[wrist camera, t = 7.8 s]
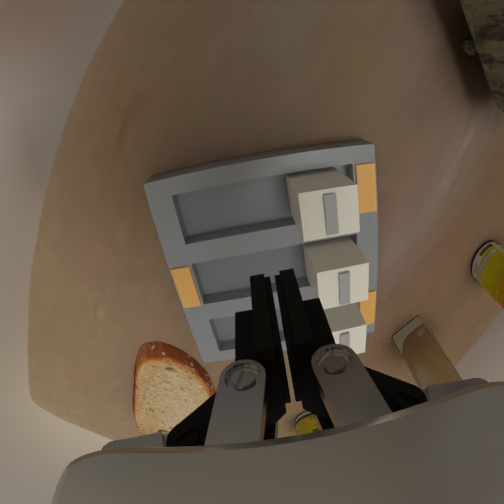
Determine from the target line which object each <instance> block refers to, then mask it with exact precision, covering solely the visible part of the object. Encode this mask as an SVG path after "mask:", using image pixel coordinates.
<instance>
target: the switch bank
mask: <svg viewBox="0 0 504 504" xmlns="http://www.w3.org/2000/svg"><path fill="white" fill-rule="evenodd" d="M329 167H334V168H336V169H337V170H338V171H340V172H341V173H343V174H344V175H345V176H347V177H348V178H349V179H351V180H352V181H353V182H355V183H356V184H357V186H358V202H359V223H360V232H356V233H351V234H345V235H340V236H334V237H328V238H323V239H317V240H312V241H306V242H304V241H303V239H302V237H301V234H300V232H299V230H298V228H297V226H296V224H295V221H294V219H293V217H292V215H291V211H290V204H289V197H288V190H287V183H286V177H285V174H290V173H296V172H302V171H309V170H315V169H322V168H329ZM143 186H144V190H145V193H146V197H147V200H148V204H149V207H150V210H151V214H152V217H153V220H154V224H155V227H156V230H157V233H158V237H159V240H160V243H161V246H162V249H163V252H164V255H165V258H166V261H167V264H168V267H169V270H170V273H171V276H172V279H173V282H174V285H175V288H176V290H177V293H178V296H179V299H180V302H181V304H182V307H183V310H184V312H185V315H186V318H187V321H188V323H189V326H190V328H191V331H192V334H193V336H194V339H195V341H196V344H197V346H198V349H199V351H200V354H201V356H202V359H203V361H204V363H208V362H216V361H223V360H231V359H235V313H236V312H240V311H247V310H252V301H251V287H250V276H253V275H258V274H264V277H269V276H270V280H271V286H272V291H273V297H274V303H275V309H276V315H277V320H278V326H279V332H280V338H281V344H282V350H283V351H287V349H286V343H285V337H284V332H283V326H282V319H281V313H280V307H279V301H278V295H277V289H276V283H275V277H274V275H280V274H279V271H281V270H287V269H292V268H293V269H294V273H295V276H296V279H297V283H298V286H299V290H300V293H301V296H302V300H303V301H304V300H309V299H314V298H315V296H314V294H313V291H312V288H311V286H310V283H309V280H308V278H307V275H306V269H305V259H304V250H303V244H304V243H310V242H315V241H321V240H326V239H332V238H337V237H343V236H348V235H349V237H350V238H351V239H352V241H353V242H354V243H355V245H356V246H357V247H358V249H359V250H360V251H361V253H362V254H363V255H364V257H365V258H366V259H367V261H368V262H369V285H368V300H365V301H360V302H356V304H357V306H358V308H359V310H360V312H361V314H362V316H363V318H364V320H365V322H366V324H367V330H366V333H370V332H374V327H375V313H376V297H377V274H378V200H377V177H376V161H375V148H374V144H373V143H371V142H368V141H365V140H362V139H359V140H349V141H340V142H332V143H324V144H316V145H309V146H302V147H295V148H288V149H282V150H275V151H269V152H263V153H258V154H252V155H247V156H241V157H236V158H231V159H226V160H221V161H216V162H211V163H206V164H201V165H197V166H192V167H188V168H184V169H179V170H175V171H171V172H167V173H162V174H158V175H154V176H151V177H150V178H149V179H148V180H147V181H146V182H145V183H144V184H143Z"/></svg>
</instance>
